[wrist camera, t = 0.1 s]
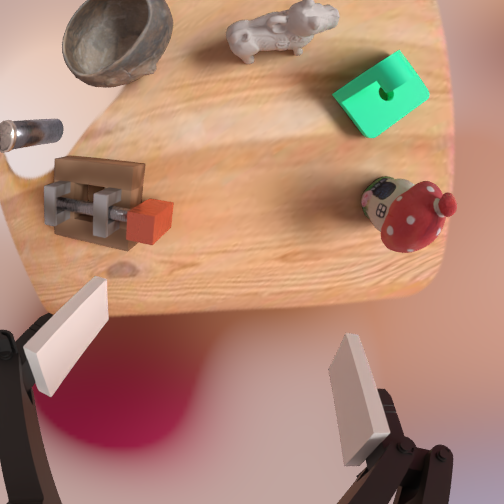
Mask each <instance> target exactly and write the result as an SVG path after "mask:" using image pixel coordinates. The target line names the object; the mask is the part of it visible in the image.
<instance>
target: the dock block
mask: <svg viewBox="0 0 504 504" xmlns="http://www.w3.org/2000/svg"><path fill="white" fill-rule="evenodd" d="M144 171H145V164H143V163H135V162H127V161H119V160H110V159H100V158H90V157H80V156H66V157H61V158H56V159H55V167H54V183H52V184H49V185H46V186H44V217H45V224H46V225H50V226H54V230H55V234H57V235H61V236H65V237H69V238H73V239H77V240H81V241H86V242H90V243H94V244H98V245H103V246H107V247H111V248H116V249H120V250H124V251H129V250H130V249H131V248H132V247H133V246H135V245H136V244H137V243H138V242H135V241H130V240H126V230H127V223H126V222H121V221H116V220H111V219H108V207H109V206H117V207H122V208H128V209H133V208H134V207H136V206H138V205H139V204H141V202H142V191H143V181H144ZM88 185H94V186H101V187H105V189H104V190H101V191H99V192H96V193H94V201H93V216H91V215H86V214H80V213H75V212H70V211H65V210H60V209H56V198H57V197H65V198H71V199H77V200H82V201H88Z"/></svg>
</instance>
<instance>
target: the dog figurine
mask: <svg viewBox="0 0 504 504" xmlns="http://www.w3.org/2000/svg"><path fill="white" fill-rule="evenodd" d="M338 21H339V12H338V10H337V9H336V8H334V7H332V6H330V5H321V4H320V3H314V1H313V0H303V1H300V2H298V3H295V4H294V5H292V6H291V7H290V9H289V10H285V11H281V12H271V13H268V14H266V15H263V16H260V17H258V18H256V19H254V20H251V21H248V20H241V21H238V22H235V23H233V24H231V25H230V26H229V27H228V29H227V31H226V39H227V41H228V43H229V46H230V49H231V51H232V52H233V53H234V54H235V55H236V56H238V57H239V58H241V59H242V60H243V61H244V62H245V63H246V64H252V63H254V56H253V55H254V54H256V53H257V52H258V51H271V50H278V51H281V50H286V49H289V50H292V49H293V52H294V54H295V55H296V56H298V55H301V54H302V53H303V49H302V48H301V47H304V46H305V45H307V44H308V43H309V42H310V41H311V40H312V38H313V36H314V35H315V34H317V33H321V32H323V31H325V30H329V29H332V28H334V27H335V26H336V25H337V24H338Z"/></svg>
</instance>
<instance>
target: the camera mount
mask: <svg viewBox="0 0 504 504" xmlns="http://www.w3.org/2000/svg"><path fill="white" fill-rule="evenodd" d="M379 88H382V89H383V90H384V92H385V93H387V96H388V97H387V100H386V101H385V100H383V99H382V98H381V97H380V95H379ZM332 95H333V97H334V98H335V99H336V100H337V102H338V103H339V104H340V106H341V107H342V108H343V109H344V111H345V112H346V113H347V115H348V116H349V117H350V119H351V120H352V121H353V123H354V124H355V125H356V127H357V128H358V129H359V131H360V132H361V133H362V135H363V136H364V137H366V138H375V137H377V136H378V135H380V134H381V133H382V132H384V131H385V130H386V129H388V128H389V127H390V126H392V125H393V124H395V123H396V122H397V121H399V120H400V119H401V118H403V117H404V116H405V115H407V114H408V113H410V112H411V111H412V110H414V109H415V108H416V107H418V106H419V105H421V104H422V103H423V102H425V101H426V100H427V99H428V98H429V91H428V89H427V88H426V86H425V85H424V83H423V82H422V80H421V79H420V77H419V76H418V74H417V73H416V71H415V70H414V69H413V67H412V66H411V65H410V63H409V62H408V60H407V59H406V58H405V56H404V55H403V54H402V53H401V51H400V50H398V51H396V52H395V53H393V54H392V55H390V56H388V57H387V58H385V59H384V60H382V61H380V62H379V63H377V64H376V65H374V66H373V67H371V68H370V69H368V70H367V71H365V72H364V73H362V74H361V75H359V76H358V77H356V78H355V79H353V80H352V81H350V82H349V83H347V84H346V85H345V86H343V87H342V88H340V89H339V90H337V91H336V92H335V93H333V94H332Z"/></svg>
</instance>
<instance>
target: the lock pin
mask: <svg viewBox="0 0 504 504" xmlns="http://www.w3.org/2000/svg"><path fill="white" fill-rule="evenodd" d="M173 204H174V203H173V202H167V201H161V200H156V199H148V200H146V201H145V202H143V203H141V204H139V205H138V206H136V207H134V208H133V209H128V208H122V207H117V206H109V207H108V219H111V220H116V221H121V222H126V223H127V230H126V240H130V241H135V242H140V243H144V244H149V245H153V244H154V243H155V242H156V241H157V240H158V239H159V238H160V237H161V236H162V235H164V234H165V233H166V232H167V231H168V230H169V229H170V228H171V222H172V213H173ZM56 209H60V210H65V211H70V212H75V213H80V214H86V215H91V216H93V202H88V201H82V200H77V199H71V198H65V197H57V198H56Z"/></svg>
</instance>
